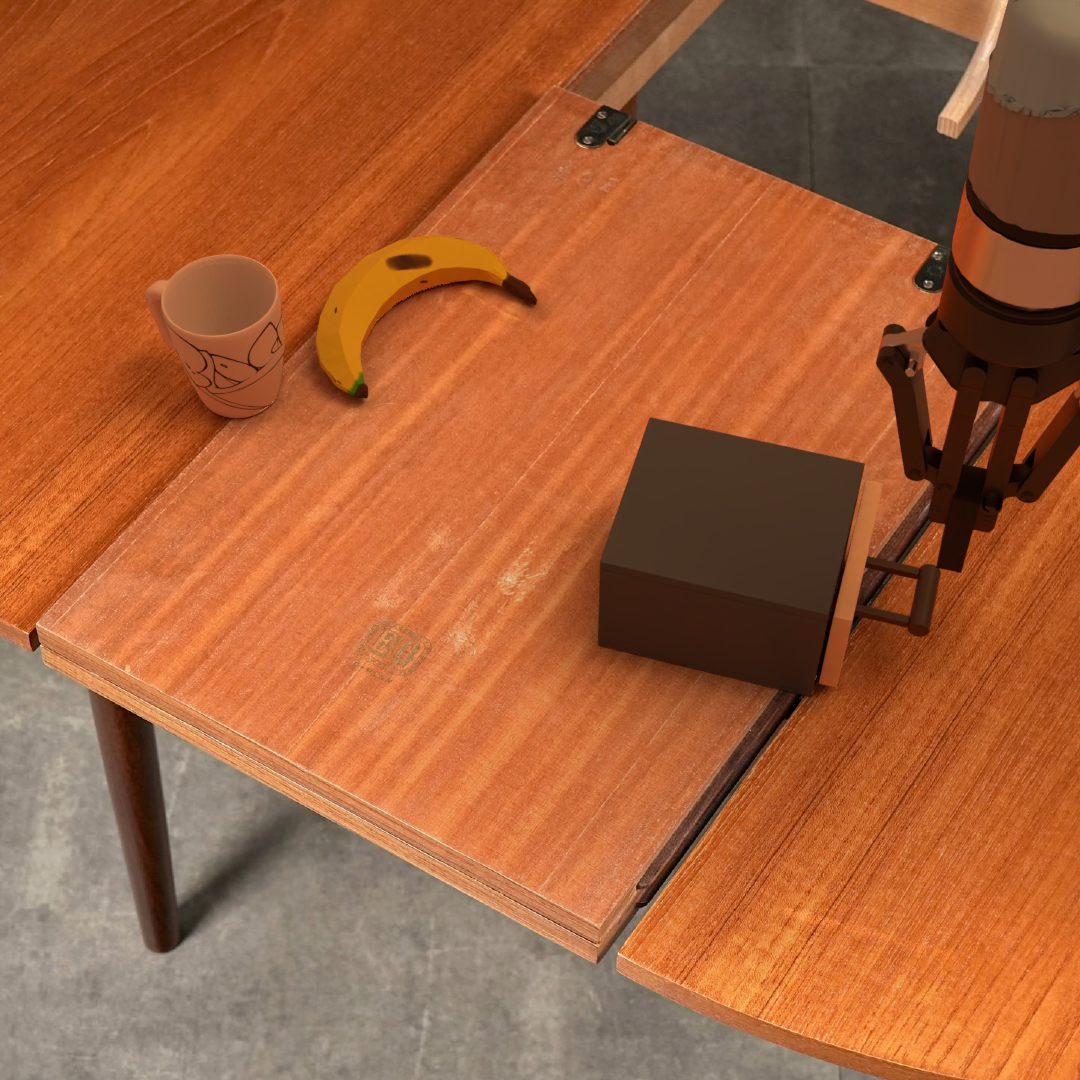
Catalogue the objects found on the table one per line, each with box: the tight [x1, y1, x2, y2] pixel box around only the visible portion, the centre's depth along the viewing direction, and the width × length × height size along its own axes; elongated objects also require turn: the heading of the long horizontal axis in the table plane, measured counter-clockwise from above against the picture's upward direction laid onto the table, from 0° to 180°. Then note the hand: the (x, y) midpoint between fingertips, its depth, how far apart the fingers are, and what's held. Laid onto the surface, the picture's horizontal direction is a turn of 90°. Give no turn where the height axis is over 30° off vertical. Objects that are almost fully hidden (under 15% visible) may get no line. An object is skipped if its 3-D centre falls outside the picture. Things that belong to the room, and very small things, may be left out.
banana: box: [314, 233, 538, 400], centre depth 131 cm, size 5×17×15 cm
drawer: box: [818, 479, 942, 688], centre depth 112 cm, size 18×11×8 cm, turn 73°
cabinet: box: [597, 416, 866, 698], centre depth 113 cm, size 15×13×10 cm
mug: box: [144, 253, 285, 419], centre depth 125 cm, size 11×8×10 cm
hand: (952, 552), depth 101 cm, fingers closed
